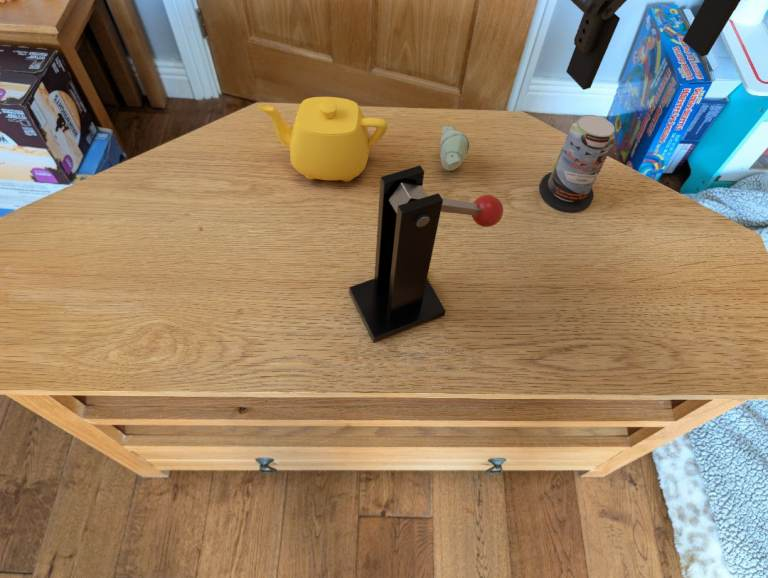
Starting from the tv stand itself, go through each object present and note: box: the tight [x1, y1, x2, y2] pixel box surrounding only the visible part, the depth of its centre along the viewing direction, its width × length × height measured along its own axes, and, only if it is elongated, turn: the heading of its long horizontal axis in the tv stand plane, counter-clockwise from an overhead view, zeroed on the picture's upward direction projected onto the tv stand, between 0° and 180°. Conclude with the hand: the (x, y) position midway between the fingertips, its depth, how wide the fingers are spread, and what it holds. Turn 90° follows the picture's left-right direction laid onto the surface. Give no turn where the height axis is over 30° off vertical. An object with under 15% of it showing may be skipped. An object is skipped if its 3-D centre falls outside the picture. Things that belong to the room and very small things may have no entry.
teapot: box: [257, 96, 389, 182], centre depth 81 cm, size 18×11×11 cm, turn 88°
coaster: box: [538, 171, 594, 214], centre depth 84 cm, size 8×8×1 cm
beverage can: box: [548, 114, 616, 202], centre depth 79 cm, size 6×7×12 cm
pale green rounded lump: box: [439, 125, 470, 171], centre depth 83 cm, size 8×4×7 cm, turn 3°
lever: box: [389, 183, 504, 228], centre depth 59 cm, size 15×4×4 cm
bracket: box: [348, 164, 447, 343], centre depth 63 cm, size 10×8×22 cm
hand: (638, 63), depth 52 cm, fingers open, 13 cm apart
